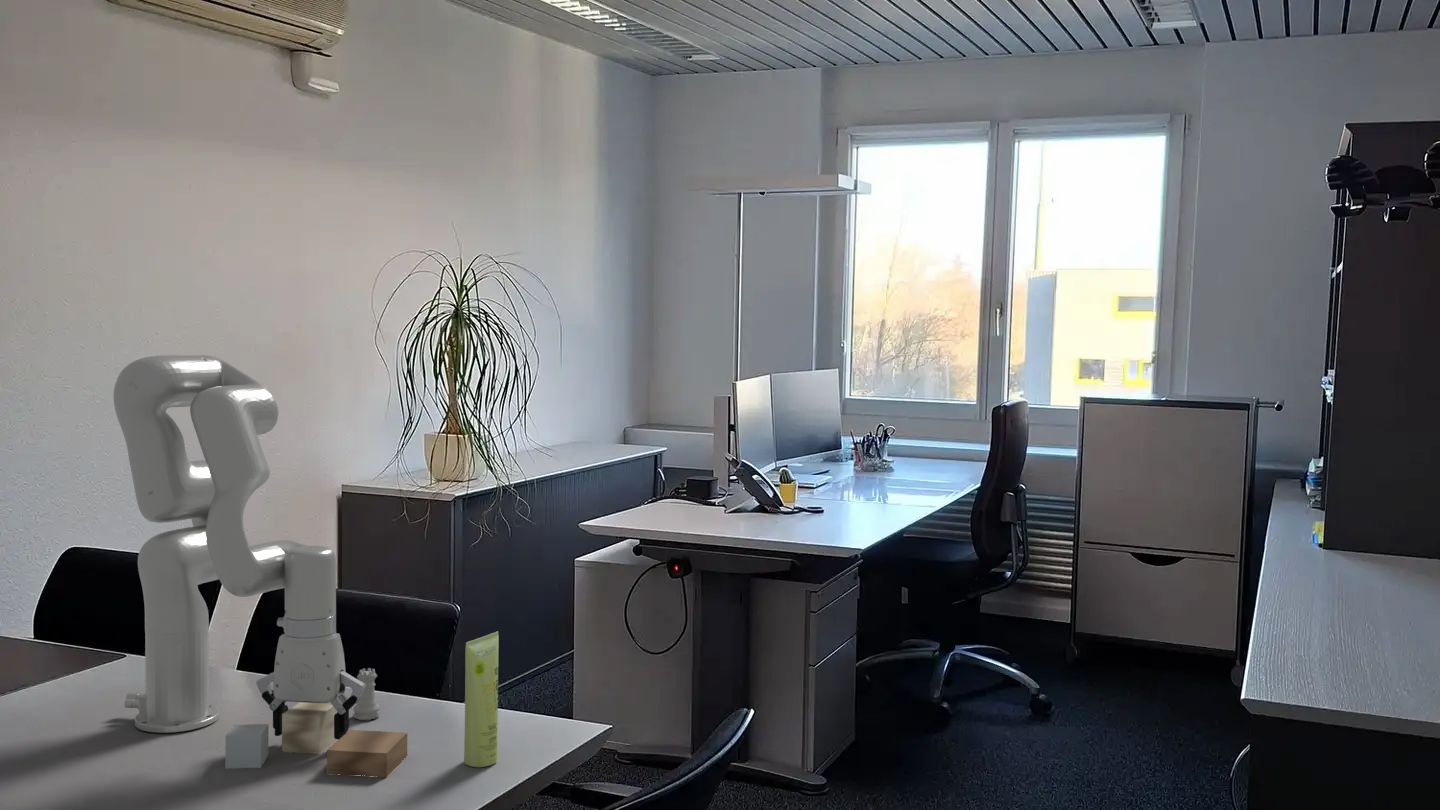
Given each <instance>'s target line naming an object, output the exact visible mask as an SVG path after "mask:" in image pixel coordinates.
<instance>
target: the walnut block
mask: <svg viewBox="0 0 1440 810" xmlns="http://www.w3.org/2000/svg"><path fill="white" fill-rule="evenodd" d="M406 756H407V757H408V732H403V731H402V732H398V731H397V732H396V731H381V730H379V731H378V730H377V731H376V730H363V729H362V730H361V729H359V730H358V729H357V730H356V729H350V730H349V729H348V731H347V733H346V734H345V735H344V736H343V737H341V738H340V739H337V740H336V742H334V743H333V744H332V745H331V746H329V747H328V748H327V749H326V775H327V774H334V775H333V776H338V775H337V774H340V775H339V776H343V775H361V776H362V775H363V776H364V775H365V776H377V777H376V778H378V777H387V776H388V775H389V774H390V773H391V772H392V771H393V770H394V769H395V768H396V767H397V766H398V767H399V766H400V764H401V763H403V761H405V759H406V758H407V757H406ZM404 758H405V759H404ZM402 760H403V761H402ZM398 767H397V768H398ZM397 768H396V769H397ZM394 771H395V770H394ZM394 771H393V772H394ZM393 772H392V773H393ZM392 773H391V774H392ZM335 774H336V775H335ZM391 774H390V775H391ZM390 775H389V776H390ZM361 776H360V777H361ZM389 776H388V777H389ZM388 777H387V778H388Z"/></svg>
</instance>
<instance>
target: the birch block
mask: <svg viewBox="0 0 1440 810" xmlns="http://www.w3.org/2000/svg"><path fill="white" fill-rule="evenodd" d="M336 713H337V710H336V709H335V708H334V707H333V705H332V704H331V703H306V702H297V704H295V705H294V706H292V707H290V708H288V711H286V712H285V713H283V714H282V734H281V752H282V751H283V752H282V753H292V752H299V753H298V754H306V753H314V754H313V755H320V754H322V753H323V752H324V751H326V750H327V749H328V748H330V747H331V746H332V745H333V744H334V743H336V742H337V739H335V738H334V715H335V714H336ZM335 741H336V742H335ZM332 743H333V744H332ZM331 744H332V745H331ZM330 745H331V746H330ZM327 747H328V748H327ZM326 748H327V749H326ZM325 749H326V750H325ZM323 750H324V751H323ZM322 751H323V752H322ZM321 752H322V753H321Z"/></svg>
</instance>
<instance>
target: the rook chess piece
mask: <svg viewBox="0 0 1440 810" xmlns="http://www.w3.org/2000/svg"><path fill="white" fill-rule="evenodd" d="M358 670H359V671H358V674H357V676H356V679H358V680H359V681H361V682H363V683H364V684H365V685H366V687H365V689H364V691H363V693H362V695H361V696H360V699H359V700H358V701H357V702H356V703H355V705H354V707H353V709H352V710H353V712H354V713H353V714H352V716H353V718H354V719H355V718H356V719H359V720H358V721H360V720H369V721H372V720H371V719H374V720H376V719H378V718H379V717H378V716H380V715H381V712H380V711H379V710H380V709H381V708H380V704H379V703H378V701H377V699H376V694H375V693H376V692H375V686H376V683H375V680H376V678H377V677H378V674H377V673H376V670H375V668H370V667H368V668H367V670H366V668H362V669H358ZM377 717H378V718H377ZM375 718H376V719H375ZM356 719H355V720H356Z"/></svg>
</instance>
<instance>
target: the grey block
mask: <svg viewBox="0 0 1440 810" xmlns="http://www.w3.org/2000/svg"><path fill="white" fill-rule="evenodd" d="M268 757H269V723H260V724H259V723H256V724H255V723H253V724H252V723H251V724H250V723H249V724H234V725H232V727H231V728H230V730H228V732H227V733H226V734H225V770H226V769H227V770H228V769H254V768H255V769H256V768H257V769H259V768H260V769H261V768H262V766H263V765H264V763H265V762H266V760H267V758H268Z"/></svg>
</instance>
